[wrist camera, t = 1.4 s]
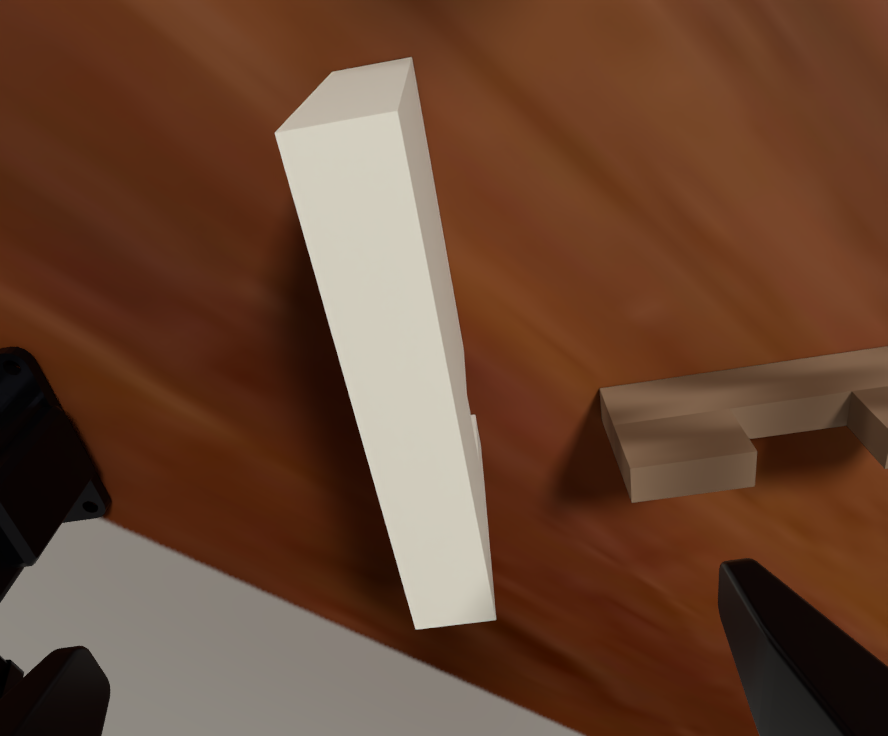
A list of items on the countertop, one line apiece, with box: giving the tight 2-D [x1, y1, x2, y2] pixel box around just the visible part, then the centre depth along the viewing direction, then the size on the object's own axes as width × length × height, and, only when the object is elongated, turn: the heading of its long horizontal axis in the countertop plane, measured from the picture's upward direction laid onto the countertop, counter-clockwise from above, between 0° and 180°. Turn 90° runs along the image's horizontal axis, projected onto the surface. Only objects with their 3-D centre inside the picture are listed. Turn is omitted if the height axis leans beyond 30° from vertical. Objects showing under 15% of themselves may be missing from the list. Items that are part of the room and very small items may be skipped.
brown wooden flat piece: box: [600, 346, 888, 503], centre depth 20 cm, size 10×1×4 cm, turn 100°
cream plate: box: [275, 57, 496, 630], centre depth 17 cm, size 12×2×7 cm, turn 10°
